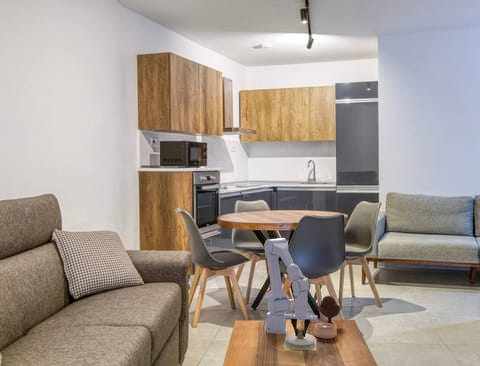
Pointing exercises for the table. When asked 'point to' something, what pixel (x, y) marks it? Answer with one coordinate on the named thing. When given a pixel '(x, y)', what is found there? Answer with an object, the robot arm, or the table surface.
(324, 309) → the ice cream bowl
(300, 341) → the lid
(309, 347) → the mat
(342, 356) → the table surface
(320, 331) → the bowl
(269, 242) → the robot arm
